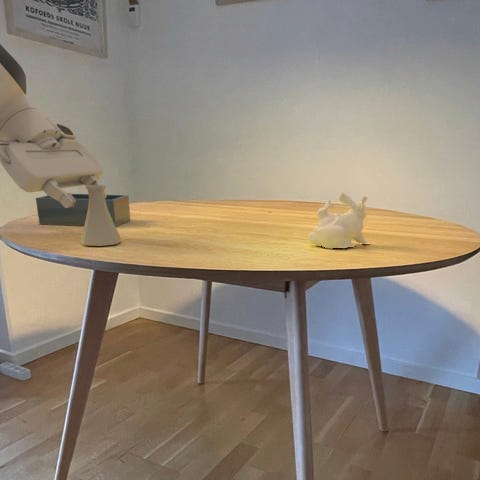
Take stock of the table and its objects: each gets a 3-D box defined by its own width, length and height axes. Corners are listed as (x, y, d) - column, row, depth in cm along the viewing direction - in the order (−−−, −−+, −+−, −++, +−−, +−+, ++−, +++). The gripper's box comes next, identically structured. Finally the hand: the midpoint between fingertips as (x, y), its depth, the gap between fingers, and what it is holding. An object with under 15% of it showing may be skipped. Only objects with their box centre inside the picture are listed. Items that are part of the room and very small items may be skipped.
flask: (78, 248, 80) (71, 187, 77) (82, 239, 87) (76, 183, 83) (121, 246, 82) (116, 187, 78) (122, 238, 88) (117, 183, 85)
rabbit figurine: (370, 243, 87) (376, 189, 83) (381, 253, 79) (388, 194, 76) (305, 242, 87) (309, 188, 83) (310, 251, 80) (314, 193, 76)
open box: (39, 224, 101) (35, 197, 99) (59, 217, 110) (56, 193, 108) (115, 227, 99) (113, 200, 97) (130, 220, 108) (128, 195, 106)
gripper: (-5, 125, 70) (60, 195, 71) (77, 129, 88) (127, 184, 89) (-23, 156, 73) (39, 223, 74) (59, 153, 91) (108, 207, 92)
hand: (88, 201), depth 81 cm, fingers open, 8 cm apart
